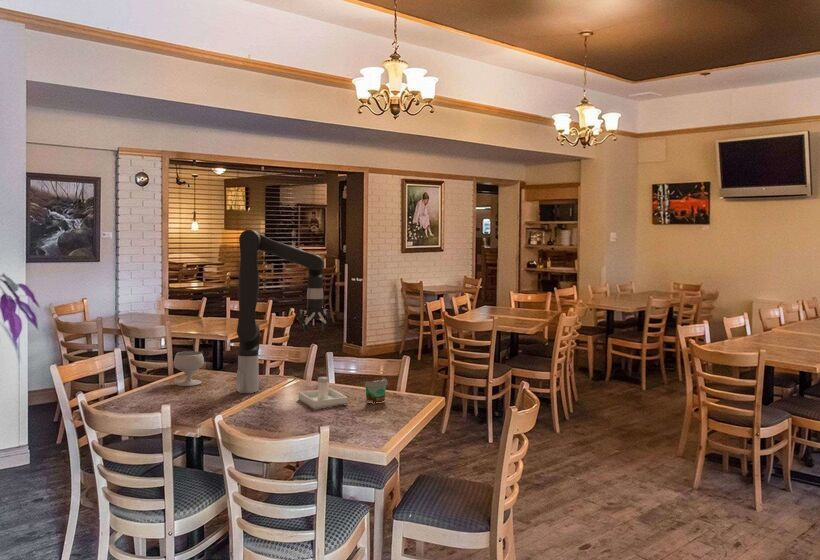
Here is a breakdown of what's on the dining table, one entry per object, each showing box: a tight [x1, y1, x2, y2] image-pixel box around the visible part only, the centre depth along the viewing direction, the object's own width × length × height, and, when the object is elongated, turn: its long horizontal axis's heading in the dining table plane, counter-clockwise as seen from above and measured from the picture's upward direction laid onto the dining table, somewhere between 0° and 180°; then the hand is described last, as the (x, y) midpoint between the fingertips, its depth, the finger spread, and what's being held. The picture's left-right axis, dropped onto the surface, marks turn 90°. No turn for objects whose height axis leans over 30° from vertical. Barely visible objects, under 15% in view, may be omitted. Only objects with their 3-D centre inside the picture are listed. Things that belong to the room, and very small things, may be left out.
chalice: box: [173, 350, 205, 387], centre depth 312 cm, size 14×14×15 cm
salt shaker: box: [317, 376, 329, 400], centre depth 282 cm, size 5×5×10 cm
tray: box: [298, 388, 349, 410], centre depth 283 cm, size 16×18×4 cm
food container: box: [364, 376, 389, 403], centre depth 284 cm, size 12×6×10 cm, turn 143°
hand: (314, 331), depth 302 cm, fingers open, 8 cm apart
